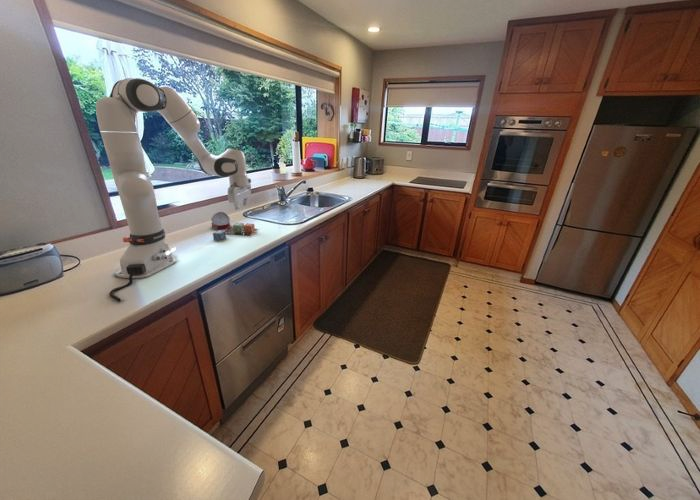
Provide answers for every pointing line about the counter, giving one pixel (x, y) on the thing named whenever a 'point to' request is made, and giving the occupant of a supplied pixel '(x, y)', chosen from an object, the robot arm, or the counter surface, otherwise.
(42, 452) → the counter surface
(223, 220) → the canned food
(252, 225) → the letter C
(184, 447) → the counter surface
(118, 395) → the counter surface
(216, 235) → the letter T
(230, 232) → the word board
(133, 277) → the robot arm
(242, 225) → the letter A
